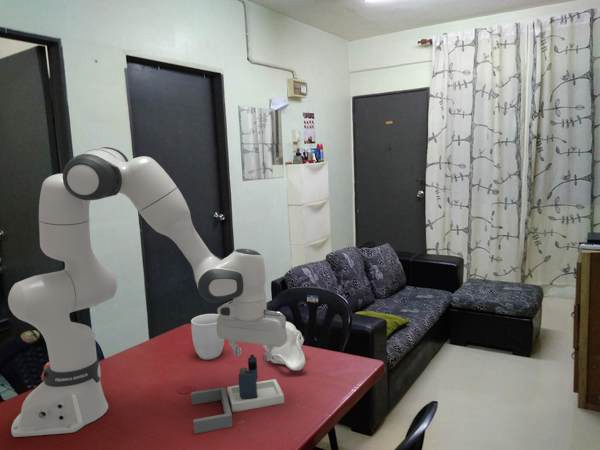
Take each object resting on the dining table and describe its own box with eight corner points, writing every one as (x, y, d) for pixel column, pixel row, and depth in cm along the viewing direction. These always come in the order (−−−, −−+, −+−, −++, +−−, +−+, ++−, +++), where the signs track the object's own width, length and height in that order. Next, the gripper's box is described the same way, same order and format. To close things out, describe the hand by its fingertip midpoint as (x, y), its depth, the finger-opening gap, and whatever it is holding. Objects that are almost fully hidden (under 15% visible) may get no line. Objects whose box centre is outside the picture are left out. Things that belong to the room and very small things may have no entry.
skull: (322, 359, 140) (301, 342, 159) (300, 320, 138) (281, 308, 157) (287, 384, 137) (270, 364, 156) (263, 344, 135) (249, 329, 154)
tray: (232, 412, 120) (231, 404, 119) (227, 394, 129) (227, 386, 129) (284, 403, 123) (283, 395, 123) (276, 386, 133) (275, 379, 133)
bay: (194, 433, 111) (193, 422, 110) (191, 402, 125) (190, 392, 125) (232, 426, 113) (231, 415, 113) (225, 397, 128) (224, 386, 127)
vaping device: (258, 399, 125) (256, 357, 123) (239, 399, 125) (236, 357, 123) (259, 394, 127) (257, 353, 126) (240, 395, 127) (238, 353, 126)
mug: (183, 351, 160) (181, 315, 159) (212, 343, 167) (210, 309, 165) (202, 365, 149) (199, 327, 147) (232, 356, 155) (229, 319, 153)
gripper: (290, 308, 122) (291, 357, 124) (224, 301, 130) (227, 347, 132) (280, 316, 116) (281, 367, 118) (212, 308, 124) (214, 356, 126)
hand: (252, 357), depth 125 cm, fingers open, 8 cm apart
